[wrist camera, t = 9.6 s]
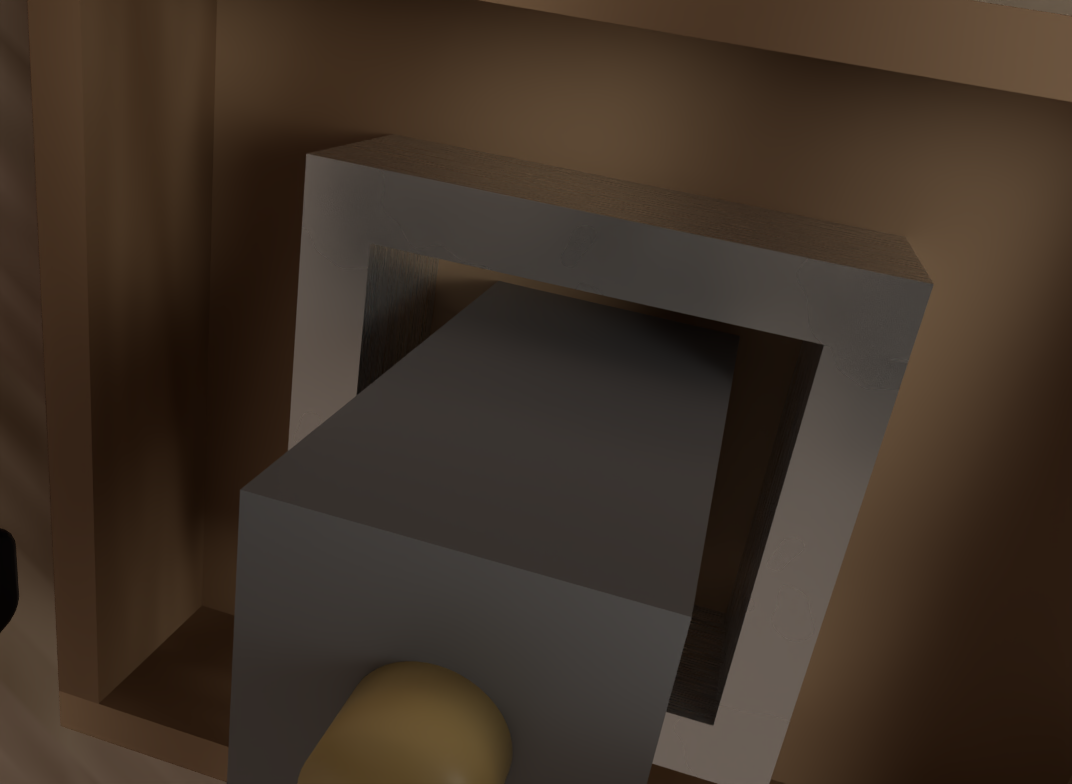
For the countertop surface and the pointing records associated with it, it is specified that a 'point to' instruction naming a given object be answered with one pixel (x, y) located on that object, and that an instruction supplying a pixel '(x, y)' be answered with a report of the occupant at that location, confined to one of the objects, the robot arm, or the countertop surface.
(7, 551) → the robot arm
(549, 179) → the collar
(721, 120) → the walnut box
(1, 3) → the countertop surface
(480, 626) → the grey box with knob
